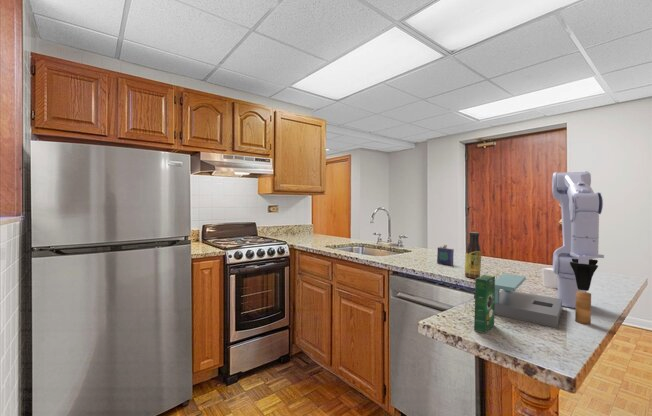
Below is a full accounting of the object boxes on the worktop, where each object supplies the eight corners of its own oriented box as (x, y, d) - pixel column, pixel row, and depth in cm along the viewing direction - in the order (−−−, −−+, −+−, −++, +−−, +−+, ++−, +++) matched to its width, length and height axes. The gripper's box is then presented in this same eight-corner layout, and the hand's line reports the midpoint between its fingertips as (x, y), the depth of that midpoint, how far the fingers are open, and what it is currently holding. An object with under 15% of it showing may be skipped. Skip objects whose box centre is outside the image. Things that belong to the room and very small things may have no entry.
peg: (575, 319, 86) (576, 290, 86) (590, 322, 84) (591, 292, 84) (575, 322, 83) (575, 292, 83) (590, 325, 81) (591, 295, 81)
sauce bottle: (471, 279, 132) (472, 233, 132) (461, 275, 139) (462, 231, 138) (484, 278, 134) (485, 232, 134) (473, 275, 140) (474, 231, 140)
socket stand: (503, 298, 105) (503, 273, 105) (562, 308, 94) (562, 281, 94) (488, 312, 90) (489, 283, 90) (556, 327, 79) (557, 294, 79)
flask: (454, 265, 163) (454, 245, 163) (451, 266, 162) (451, 245, 161) (438, 262, 171) (438, 243, 171) (435, 263, 169) (435, 244, 169)
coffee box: (483, 322, 82) (484, 273, 82) (495, 325, 80) (496, 274, 80) (473, 330, 77) (474, 278, 76) (485, 334, 75) (486, 280, 74)
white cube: (539, 286, 122) (540, 268, 122) (542, 283, 127) (543, 266, 127) (561, 289, 117) (561, 271, 117) (563, 286, 122) (563, 269, 122)
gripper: (605, 240, 75) (604, 295, 75) (603, 236, 86) (602, 285, 86) (568, 238, 80) (567, 290, 80) (571, 235, 91) (570, 280, 91)
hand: (583, 287), depth 83 cm, fingers open, 7 cm apart
